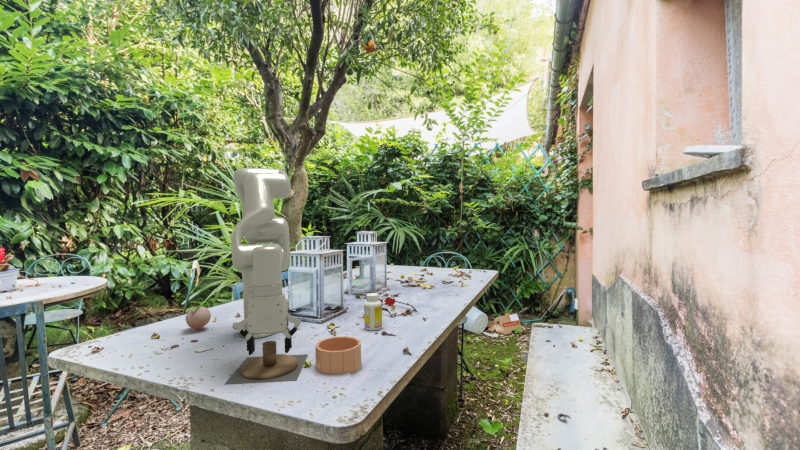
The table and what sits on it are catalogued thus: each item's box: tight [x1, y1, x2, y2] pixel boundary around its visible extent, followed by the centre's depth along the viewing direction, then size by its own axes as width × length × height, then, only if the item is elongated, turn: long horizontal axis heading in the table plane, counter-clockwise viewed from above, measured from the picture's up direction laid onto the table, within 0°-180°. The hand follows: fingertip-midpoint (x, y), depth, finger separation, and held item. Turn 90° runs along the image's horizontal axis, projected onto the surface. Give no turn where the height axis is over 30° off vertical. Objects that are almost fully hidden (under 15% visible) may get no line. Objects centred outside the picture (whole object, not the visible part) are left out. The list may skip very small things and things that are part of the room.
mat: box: [223, 353, 309, 386], centre depth 103 cm, size 18×18×1 cm
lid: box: [241, 340, 298, 380], centre depth 103 cm, size 15×15×7 cm
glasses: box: [378, 296, 418, 319], centre depth 164 cm, size 14×16×5 cm
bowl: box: [314, 335, 362, 375], centre depth 105 cm, size 12×12×6 cm
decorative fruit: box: [185, 303, 212, 331], centre depth 141 cm, size 9×8×10 cm
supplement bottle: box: [363, 292, 383, 332], centre depth 139 cm, size 7×7×13 cm
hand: (269, 352), depth 103 cm, fingers open, 9 cm apart
